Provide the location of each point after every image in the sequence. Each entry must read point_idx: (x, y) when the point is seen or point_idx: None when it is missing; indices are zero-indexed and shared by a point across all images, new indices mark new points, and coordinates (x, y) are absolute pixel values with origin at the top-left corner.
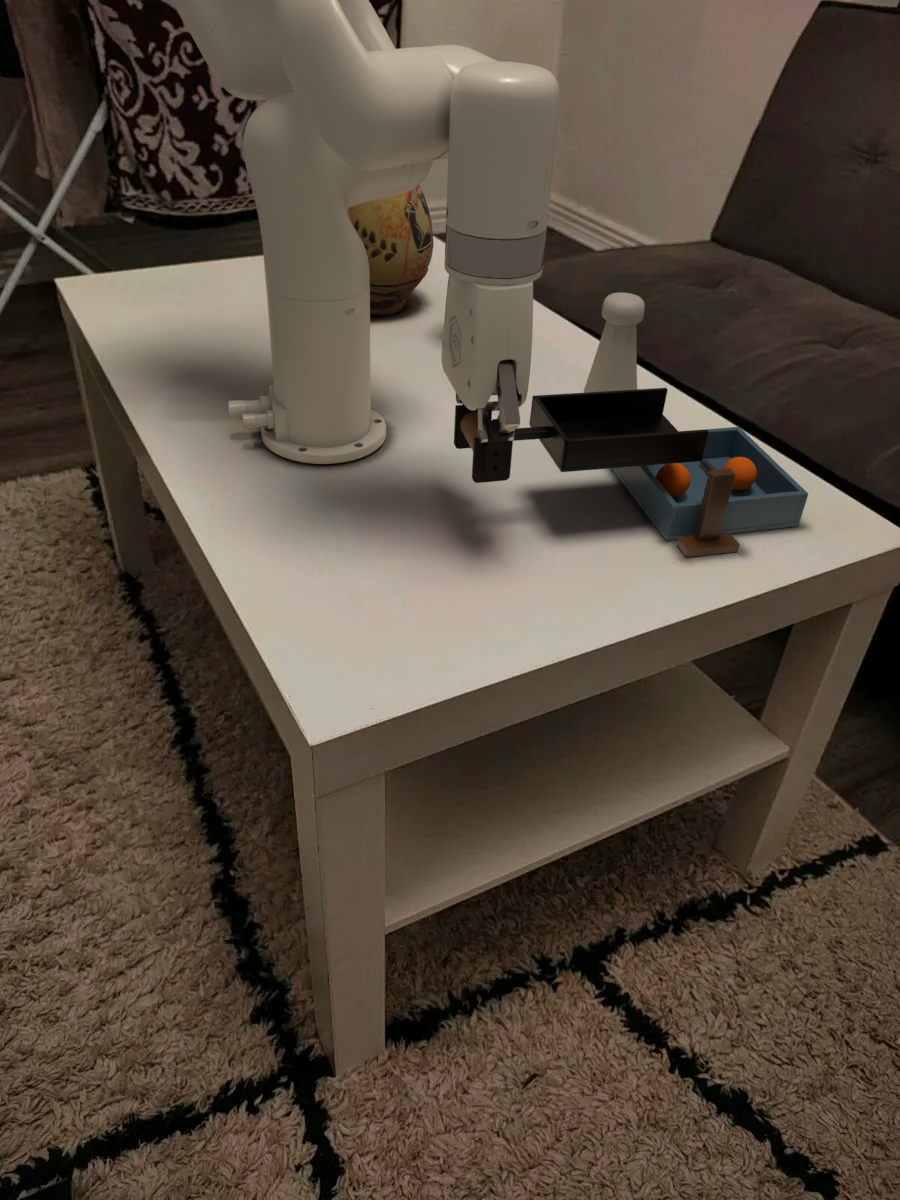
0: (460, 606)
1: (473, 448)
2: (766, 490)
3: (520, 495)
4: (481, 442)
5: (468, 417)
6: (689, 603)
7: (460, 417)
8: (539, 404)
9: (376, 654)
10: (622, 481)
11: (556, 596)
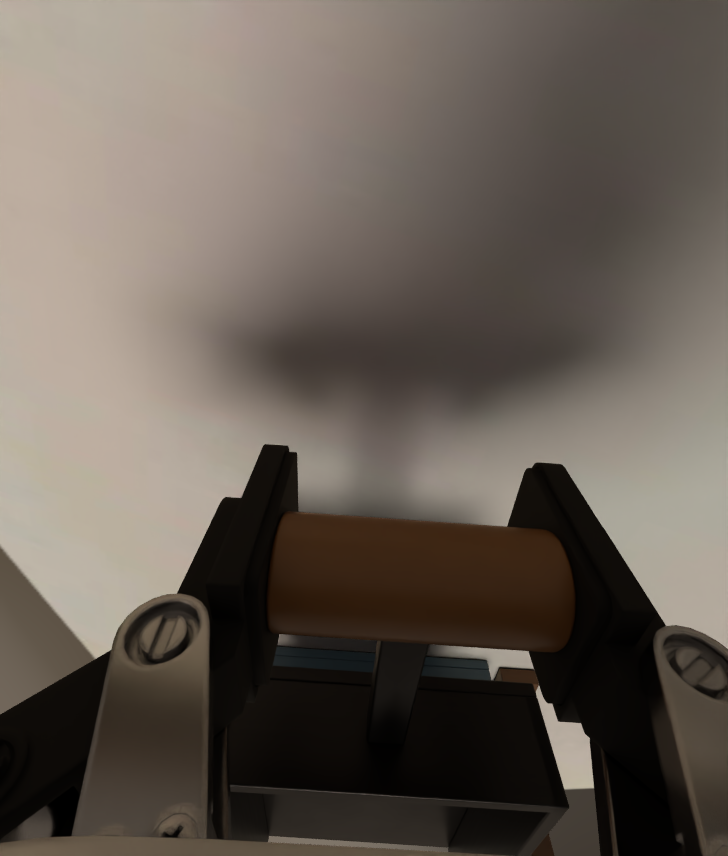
0: (6, 226)
1: (253, 537)
2: None
3: (460, 510)
4: (148, 604)
5: (532, 610)
6: (74, 609)
7: (580, 577)
8: (493, 803)
9: None
10: (434, 659)
11: (74, 447)
